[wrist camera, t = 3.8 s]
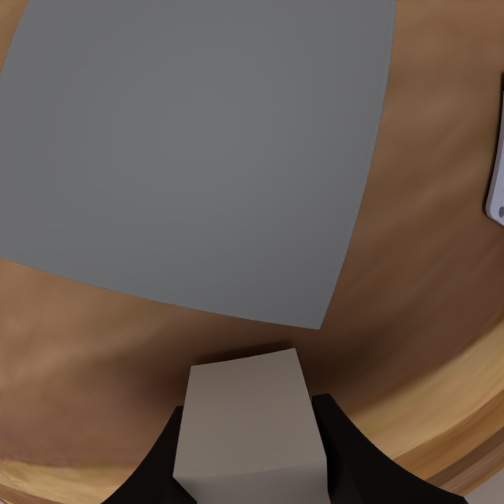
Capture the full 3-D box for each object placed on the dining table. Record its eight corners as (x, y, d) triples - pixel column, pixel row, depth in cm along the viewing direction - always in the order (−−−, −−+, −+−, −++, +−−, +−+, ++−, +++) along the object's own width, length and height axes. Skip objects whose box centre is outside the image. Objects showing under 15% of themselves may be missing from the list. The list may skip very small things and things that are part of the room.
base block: (350, 23, 8) (397, -25, 4) (292, 271, 11) (319, 329, 7) (102, -9, 7) (60, -53, 3) (47, 221, 10) (-17, 251, 6)
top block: (304, 412, 12) (327, 504, 7) (218, 426, 12) (216, 519, 7) (294, 347, 10) (326, 458, 6) (191, 365, 11) (172, 476, 6)
